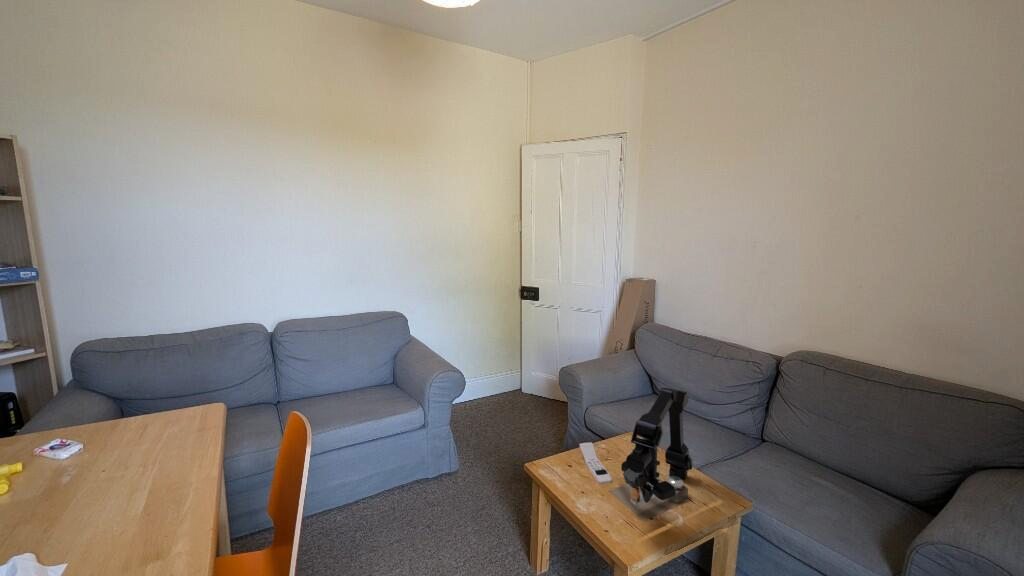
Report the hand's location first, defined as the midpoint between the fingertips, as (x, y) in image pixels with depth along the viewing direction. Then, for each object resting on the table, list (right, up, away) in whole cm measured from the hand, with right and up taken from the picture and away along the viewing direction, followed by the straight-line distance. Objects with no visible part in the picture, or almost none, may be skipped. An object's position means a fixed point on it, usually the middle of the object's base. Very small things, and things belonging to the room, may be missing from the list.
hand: (646, 501), depth 135 cm
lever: (+7, -2, +9) cm, 11 cm away
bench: (+5, -7, +15) cm, 17 cm away
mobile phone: (-10, -5, +33) cm, 35 cm away
